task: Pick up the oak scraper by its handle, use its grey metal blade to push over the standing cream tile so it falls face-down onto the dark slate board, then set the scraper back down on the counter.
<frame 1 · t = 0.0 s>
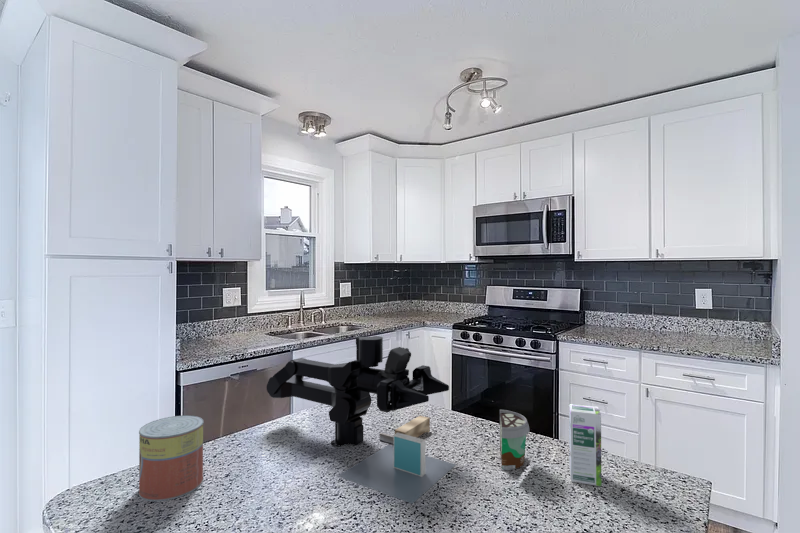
hand: (438, 393, 88), 17 cm above the countertop, tool horizontal, fingers open, 9 cm apart
food container: (514, 465, 91), on the countertop
syrup box: (584, 479, 85), on the countertop
tile: (409, 470, 87), point 1 cm above the countertop, touching slate board
scraper: (413, 439, 105), on the countertop
slate board: (398, 473, 87), on the countertop
canned food: (172, 486, 82), on the countertop
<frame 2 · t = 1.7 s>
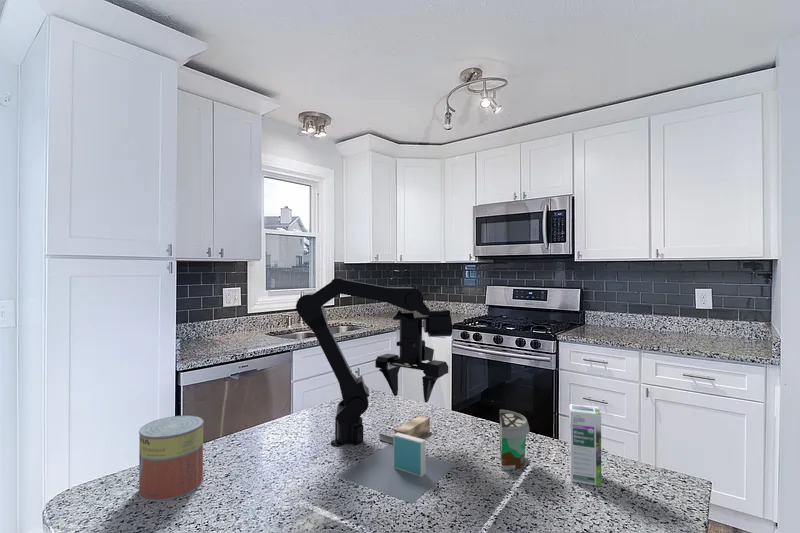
hand: (410, 398, 104), 10 cm above the countertop, tool pointing down, fingers open, 9 cm apart
nothing on the countertop moved.
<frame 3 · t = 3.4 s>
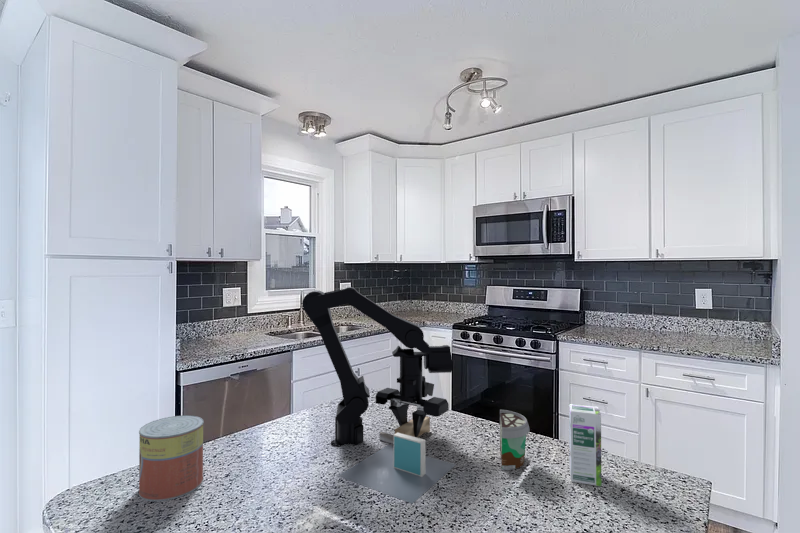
hand: (410, 435, 104), 1 cm above the countertop, tool pointing down, fingers closed on scraper, 3 cm apart
scraper: (413, 438, 105), on the countertop, touching gripper
everything else where it was.
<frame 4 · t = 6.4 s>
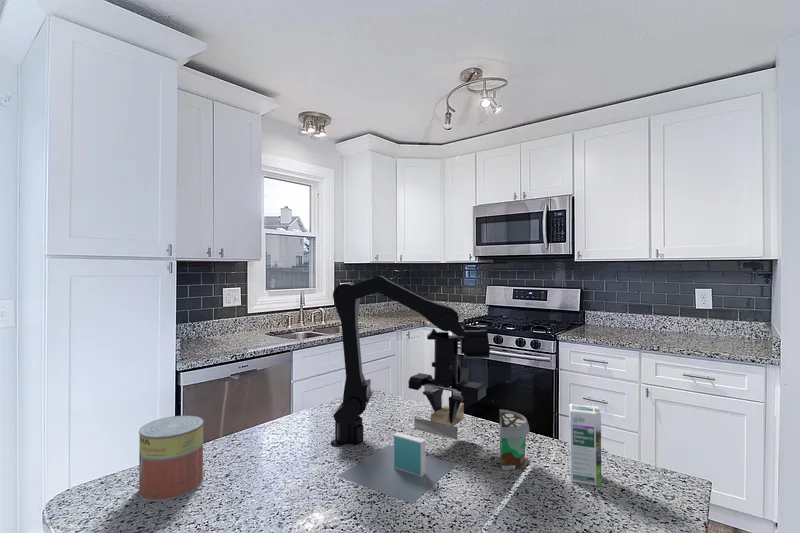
hand: (445, 421, 101), 6 cm above the countertop, tool pointing down, fingers closed on scraper, 3 cm apart
scraper: (447, 424, 102), point 5 cm above the countertop, touching gripper
everything else where it was.
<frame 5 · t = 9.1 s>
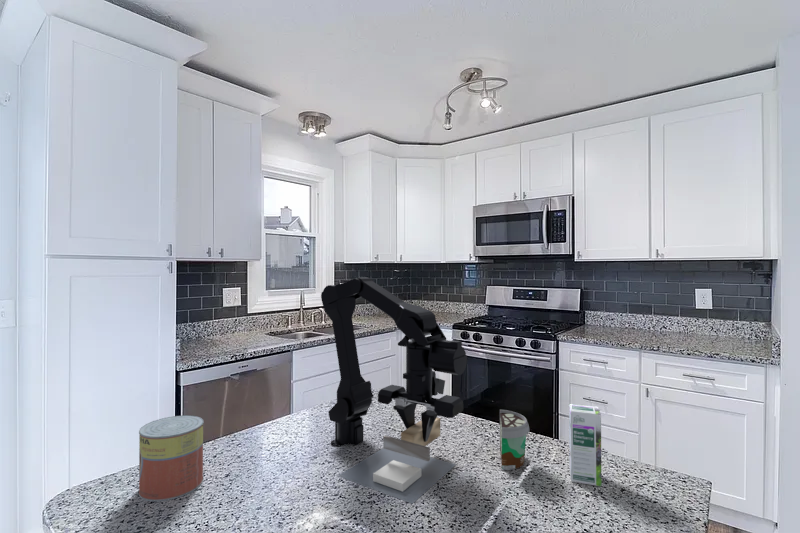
hand: (419, 439, 90), 6 cm above the countertop, tool pointing down, fingers closed on scraper, 3 cm apart
tile: (407, 467, 86), point 2 cm above the countertop, tilted 90°, touching slate board
scraper: (421, 443, 91), point 5 cm above the countertop, touching gripper
everything else where it was.
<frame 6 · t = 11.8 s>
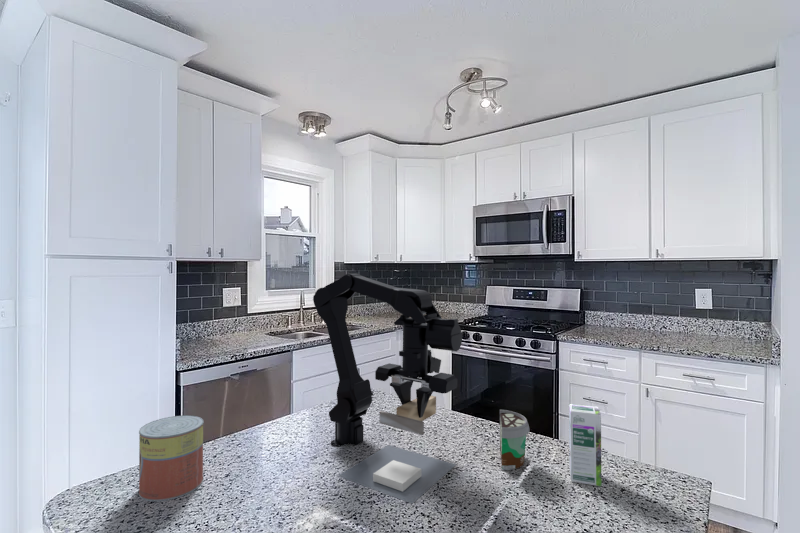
hand: (414, 415, 93), 10 cm above the countertop, tool pointing down, fingers closed on scraper, 3 cm apart
scraper: (416, 419, 93), point 9 cm above the countertop, touching gripper
everything else where it was.
when the fingers open (3 cm above the countertop, at t = 14.2 s): scraper drops 2 cm, on the countertop.
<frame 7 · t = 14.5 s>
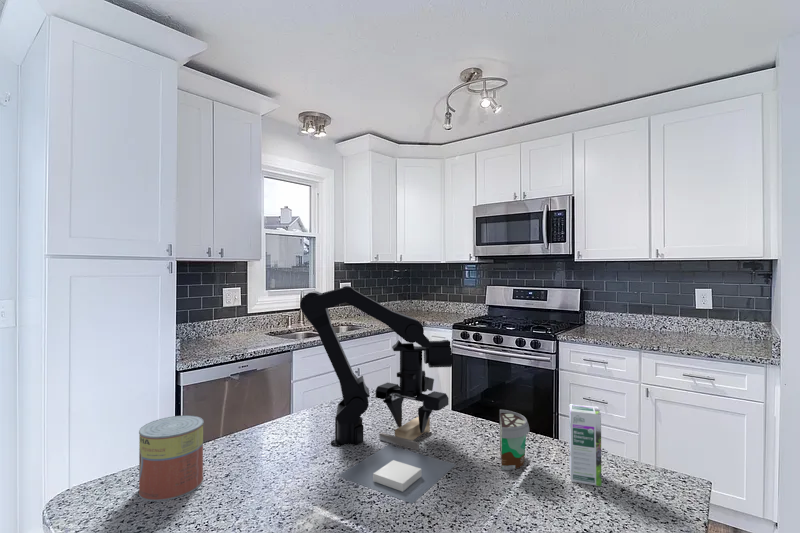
hand: (410, 429, 104), 3 cm above the countertop, tool pointing down, fingers open, 6 cm apart
scraper: (413, 439, 105), on the countertop
everything else where it was.
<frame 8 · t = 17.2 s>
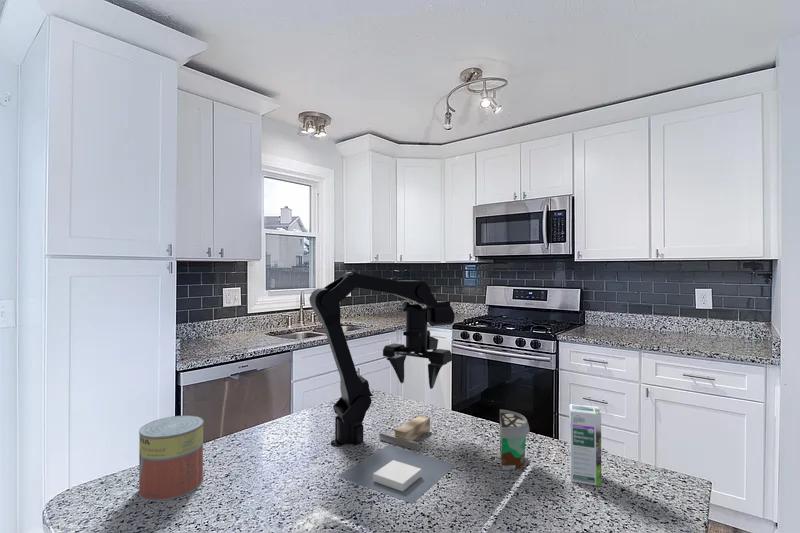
hand: (416, 385, 110), 12 cm above the countertop, tool pointing down, fingers open, 9 cm apart
nothing on the countertop moved.
at the end: tile tilted 90°; tile inside the target area on the slate board (2.6 cm from its centre), point 1.7 cm above the slate board's base; scraper on the countertop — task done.
